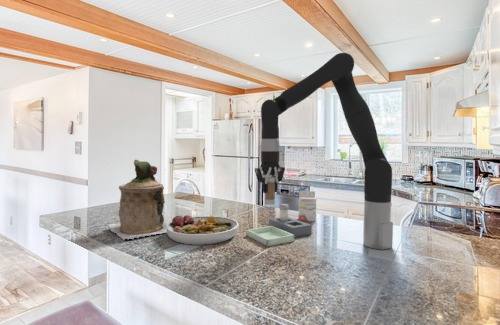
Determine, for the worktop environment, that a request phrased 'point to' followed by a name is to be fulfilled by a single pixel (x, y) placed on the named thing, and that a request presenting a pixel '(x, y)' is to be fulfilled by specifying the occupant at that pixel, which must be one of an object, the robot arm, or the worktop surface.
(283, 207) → the fuse
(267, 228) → the parts tray
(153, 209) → the cookie jar
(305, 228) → the block
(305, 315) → the worktop surface
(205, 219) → the bowl
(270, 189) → the cylinder
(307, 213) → the ink cartridge box
